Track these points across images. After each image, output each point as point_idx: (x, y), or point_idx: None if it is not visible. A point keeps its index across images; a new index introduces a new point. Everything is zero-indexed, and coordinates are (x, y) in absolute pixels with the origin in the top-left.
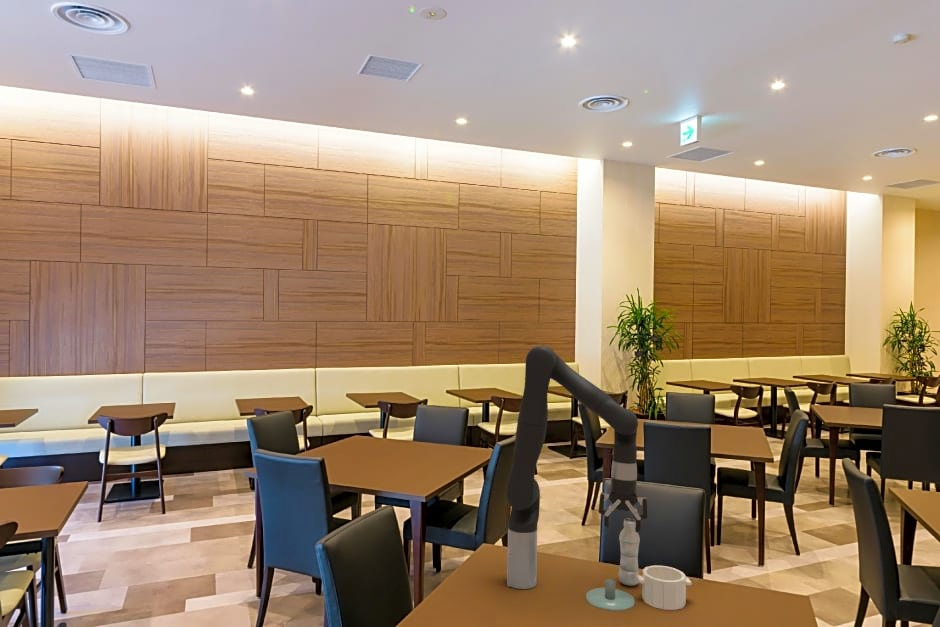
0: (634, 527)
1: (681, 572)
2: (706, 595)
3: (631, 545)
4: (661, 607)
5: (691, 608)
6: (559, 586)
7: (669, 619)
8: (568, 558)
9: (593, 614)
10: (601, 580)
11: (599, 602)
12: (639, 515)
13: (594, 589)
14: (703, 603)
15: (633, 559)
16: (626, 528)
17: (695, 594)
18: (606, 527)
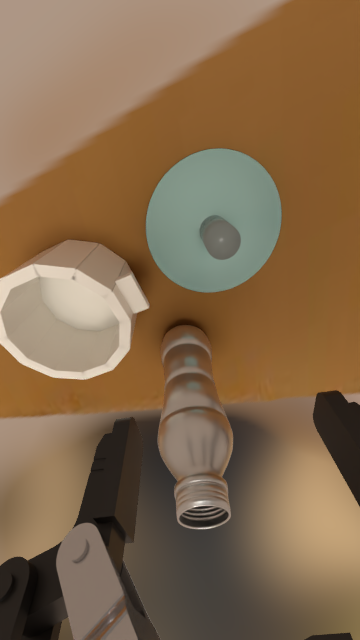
0: (177, 483)
1: (22, 359)
2: None
3: (180, 404)
4: (72, 240)
5: None
6: (353, 247)
7: (29, 180)
8: None
9: (248, 81)
10: (247, 329)
11: (239, 178)
12: (67, 594)
13: (260, 263)
14: None
15: (173, 373)
16: (210, 469)
17: None
18: (341, 394)
